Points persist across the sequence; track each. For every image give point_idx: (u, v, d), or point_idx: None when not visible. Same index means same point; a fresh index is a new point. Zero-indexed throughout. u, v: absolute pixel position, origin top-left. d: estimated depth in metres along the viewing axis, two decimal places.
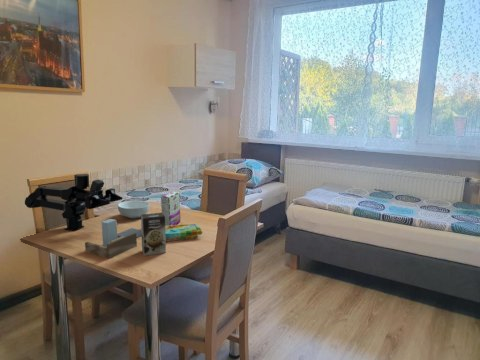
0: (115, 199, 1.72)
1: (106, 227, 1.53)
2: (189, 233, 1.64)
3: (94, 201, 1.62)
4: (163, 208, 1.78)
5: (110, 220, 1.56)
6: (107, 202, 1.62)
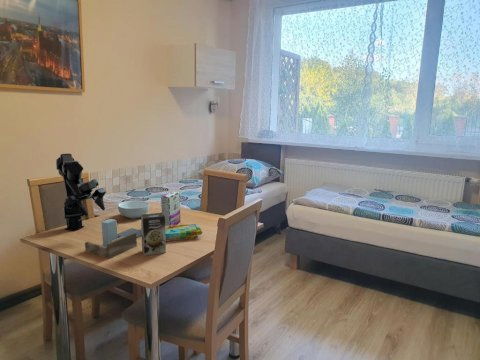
0: (98, 204, 1.63)
1: (106, 227, 1.53)
2: (189, 233, 1.64)
3: (74, 204, 1.53)
4: (163, 208, 1.78)
5: (110, 220, 1.56)
6: (85, 213, 1.54)
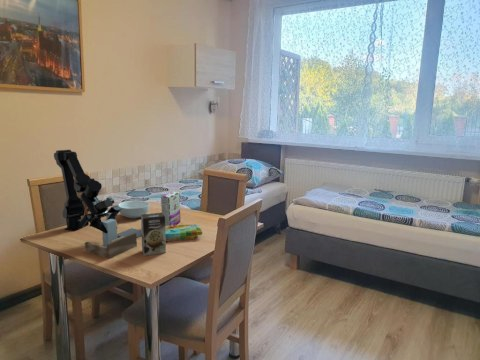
0: None
1: (106, 227, 1.53)
2: (189, 233, 1.63)
3: (94, 222, 1.52)
4: (163, 208, 1.78)
5: (110, 220, 1.56)
6: (105, 231, 1.53)
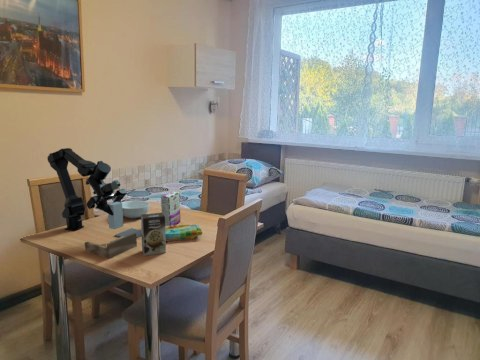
0: None
1: (112, 209, 1.55)
2: (189, 234, 1.63)
3: (100, 204, 1.54)
4: (163, 208, 1.78)
5: (116, 203, 1.58)
6: (111, 213, 1.55)
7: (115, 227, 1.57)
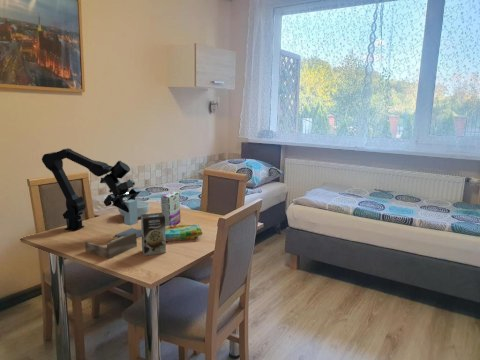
0: None
1: (127, 206, 1.64)
2: (189, 234, 1.63)
3: (117, 201, 1.63)
4: (163, 208, 1.78)
5: (131, 200, 1.67)
6: (126, 210, 1.64)
7: (130, 223, 1.66)
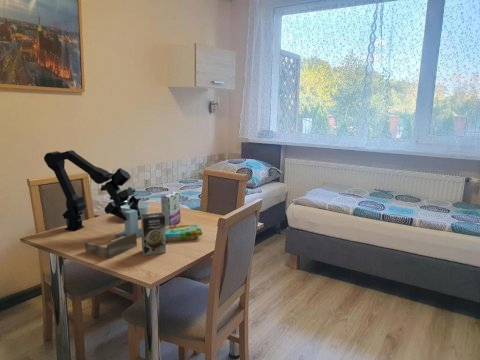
0: None
1: (128, 217, 1.65)
2: (189, 234, 1.63)
3: (115, 210, 1.63)
4: (163, 208, 1.78)
5: (132, 210, 1.68)
6: (124, 218, 1.63)
7: (131, 233, 1.67)
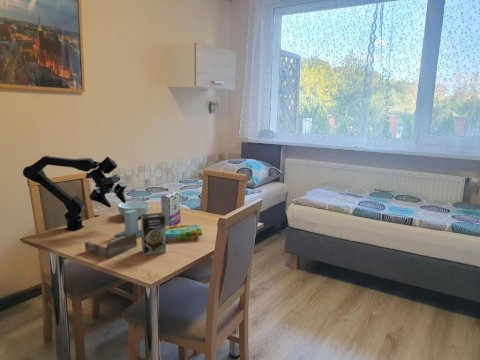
0: (120, 198, 1.76)
1: (128, 217, 1.65)
2: (189, 234, 1.62)
3: (99, 197, 1.66)
4: (163, 208, 1.78)
5: (132, 210, 1.68)
6: (108, 205, 1.66)
7: (131, 233, 1.67)
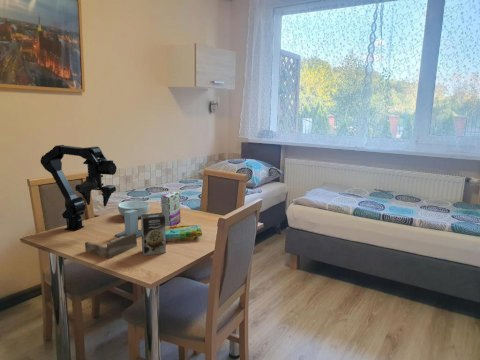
0: None
1: (128, 217, 1.65)
2: (188, 234, 1.62)
3: None
4: (163, 208, 1.78)
5: (132, 210, 1.68)
6: None
7: (131, 233, 1.67)
